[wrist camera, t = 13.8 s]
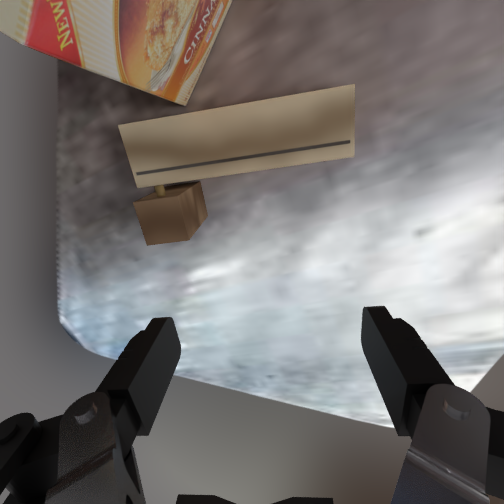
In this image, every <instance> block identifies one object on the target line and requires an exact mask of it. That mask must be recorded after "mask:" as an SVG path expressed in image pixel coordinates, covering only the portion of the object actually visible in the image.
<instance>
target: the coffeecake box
mask: <svg viewBox="0 0 504 504" xmlns="http://www.w3.org/2000/svg"><path fill="white" fill-rule="evenodd" d="M231 3H232V0H0V32H2V33H3V34H5V35H7V36H8V37H10V38H12V39H13V40H15V41H16V42H18V43H20V44H22V45H24V46H26V47H29V48H31V49H34V50H36V51H39V52H41V53H44V54H46V55H49V56H52V57H54V58H57V59H60V60H62V61H65V62H68V63H70V64H73V65H75V66H78V67H80V68H83V69H86V70H88V71H91V72H94V73H96V74H99V75H102V76H104V77H107V78H110V79H113V80H115V81H118V82H121V83H123V84H126V85H129V86H131V87H134V88H137V89H139V90H142V91H145V92H147V93H150V94H153V95H156V96H158V97H161V98H164V99H166V100H169V101H172V102H175V103H177V104H180V105H183V106H186V104H187V102H188V100H189V98H190V96H191V93H192V91H193V89H194V87H195V85H196V82H197V80H198V78H199V76H200V73H201V71H202V69H203V66H204V64H205V62H206V60H207V57H208V55H209V53H210V51H211V48H212V46H213V44H214V41H215V39H216V37H217V35H218V32H219V30H220V28H221V26H222V23H223V21H224V19H225V16H226V14H227V12H228V9H229V7H230V5H231Z"/></svg>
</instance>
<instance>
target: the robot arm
mask: <svg viewBox="0 0 504 504" xmlns="http://www.w3.org/2000/svg"><path fill="white" fill-rule="evenodd" d="M361 343H362V348H363V352H364V354H365V357H366V359H367V362H368V364H369V366H370V369H371V371H372V374H373V376H374V379H375V381H376V383H377V386H378V388H379V391H380V393H381V395H382V398H383V400H384V403H385V405H386V408H387V410H388V412H389V415H390V417H391V420H392V422H393V424H394V427H395V429H396V431H397V434H398V436H410V437H411V439H412V442H411V445H410V448H409V449H408V451H407V453H406V456H405V460H404V463H403V466H402V469H401V472H400V476H399V479H398V482H397V485H396V488H395V492H394V495H393V498H392V501H391V504H489V497H488V496H487V495H486V494H485V493H487V494H489V495H492V496H495V497H498V498H501V499H503V500H504V412H502V411H498V410H494V409H491V408H488V407H485V406H484V404H483V403H482V402H481V401H480V400H479V399H478V398H476V397H475V396H474V395H473V394H471V393H470V392H468V391H466V390H464V389H462V388H460V387H457V386H455V385H454V383H453V382H452V381H451V379H450V378H449V376H448V375H447V374H446V372H445V371H444V369H443V368H442V367H441V365H440V364H439V363H438V361H437V360H436V358H435V357H434V356H433V354H432V353H431V351H430V350H429V349H427V346H426V344H425V343H424V342H423V340H421V338H420V336H419V335H418V333H417V332H416V331H415V329H414V328H413V327H412V326H411V325H409V324H408V323H407V322H405V321H404V320H402V319H401V318H396V319H393V318H392V316H391V315H390V313H389V312H388V310H387V309H386V307H385V306H372V307H364V308H363V313H362V329H361ZM180 355H181V344H180V341H179V337H178V334H177V331H176V327H175V324H174V321H173V319H172V318H171V317H162V318H153V319H152V320H151V321H150V323H149V324H148V326H147V327H146V329H145V330H142V331H140V332H139V333H138V334H136V335H135V336H134V337H133V338H132V339H131V340H130V341H129V343H128V344H127V346H126V347H125V348H124V351H122V353H121V354H120V356H119V357H118V360H116V362H115V363H114V365H113V366H112V368H111V369H110V371H109V372H108V374H107V375H106V376H105V378H104V379H103V381H102V383H101V384H100V385H99V387H98V388H97V390H96V391H95V392H92V393H89V394H87V395H85V396H83V397H81V398H79V399H78V400H76V401H75V402H74V403H73V404H72V405H70V406H69V407H68V409H67V410H66V411H65V413H64V414H63V415H60V416H56V417H53V418H50V419H47V420H44V421H41V422H37V420H36V419H35V417H34V416H33V415H32V414H31V413H20V414H17V415H14V416H12V417H10V418H8V419H6V420H4V421H3V422H1V423H0V495H1V493H2V492H3V490H4V489H5V488H7V490H8V491H9V492H10V494H9V496H8V497H7V498H6V500H5V501H4V503H3V504H146V501H145V497H144V493H143V488H142V484H141V480H140V475H139V470H138V466H137V461H136V457H135V452H134V448H133V446H132V444H133V441H134V440H135V437H136V436H148V435H149V433H150V430H151V428H152V425H153V423H154V420H155V418H156V416H157V413H158V411H159V408H160V406H161V403H162V401H163V398H164V396H165V393H166V391H167V389H168V386H169V384H170V381H171V379H172V376H173V374H174V371H175V369H176V366H177V364H178V361H179V359H180ZM176 504H236V503H233V502H230V501H227V500H225V499H223V498H220V497H217V496H215V495H180V494H179V495H178V497H177V501H176ZM273 504H333V498H311V497H310V498H309V497H292V498H288V499H285V500H282V501H279V502H276V503H273Z"/></svg>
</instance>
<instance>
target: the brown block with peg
mask: <svg viewBox="0 0 504 504" xmlns="http://www.w3.org/2000/svg"><path fill="white" fill-rule="evenodd" d="M154 188H155V191H156V192H154V193H151V194H149V195H147V196H145V197H143V198H141V199H139V200H137V201H135V202H133V204H134V207H135V210H136V213H137V216H138V220H139V223H140V226H141V229H142V232H143V235H144V238H145V241H146V244H147V245H155V244H163V243H171V242H179V241H187V240H190V238H191V237H192V236H193V234H194V233H195V232H196V231H197V229H198V228H199V227H200V225H201V224H202V223H203V221H204V220H205V219H206V218H207V216H208V214H207V210H206V205H205V201H204V196H203V192H202V187H201V183H200V181H199V182H192V183H186V184H179V185H172V186H166V187H164V185H157V186H154Z"/></svg>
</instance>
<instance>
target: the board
mask: <svg viewBox="0 0 504 504" xmlns="http://www.w3.org/2000/svg"><path fill="white" fill-rule="evenodd" d="M354 118H355V84H351V85H346V86H340V87H334V88H329V89H323V90H317V91H311V92H306V93H300V94H294V95H288V96H283V97H277V98H271V99H266V100H260V101H254V102H248V103H243V104H237V105H231V106H226V107H220V108H214V109H208V110H203V111H197V112H191V113H185V114H180V115H174V116H168V117H163V118H157V119H151V120H145V121H140V122H134V123H128V124H123V125H118V127H119V130H120V134H121V137H122V140H123V143H124V146H125V150H126V153H127V156H128V159H129V163H130V166H131V169H132V172H133V175H134V179H135V182H136V185H137V188H142V187H149V186H156V185H163V184H170V183H177V182H183V181H190V180H197V179H204V178H211V177H218V176H225V175H232V174H239V173H245V172H252V171H259V170H266V169H273V168H280V167H287V166H294V165H301V164H308V163H314V162H321V161H328V160H335V159H342V158H349V157H354Z"/></svg>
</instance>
